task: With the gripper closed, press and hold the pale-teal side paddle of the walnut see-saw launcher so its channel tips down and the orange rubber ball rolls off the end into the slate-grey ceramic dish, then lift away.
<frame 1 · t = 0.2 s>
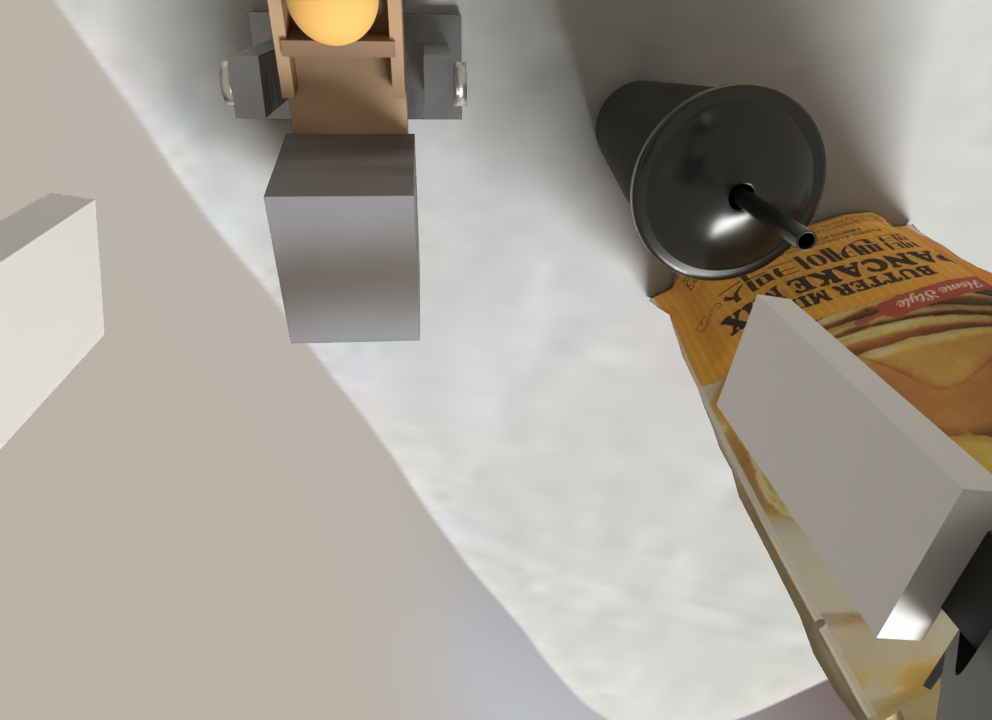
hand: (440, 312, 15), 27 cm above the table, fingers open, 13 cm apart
lever: (410, 30, 27), point 11 cm above the table, hinge at 12.0°, touching ball
stand: (360, 66, 37), on the table
pancake mix bag: (778, 275, 45), on the table
drinking cup: (637, 126, 40), on the table
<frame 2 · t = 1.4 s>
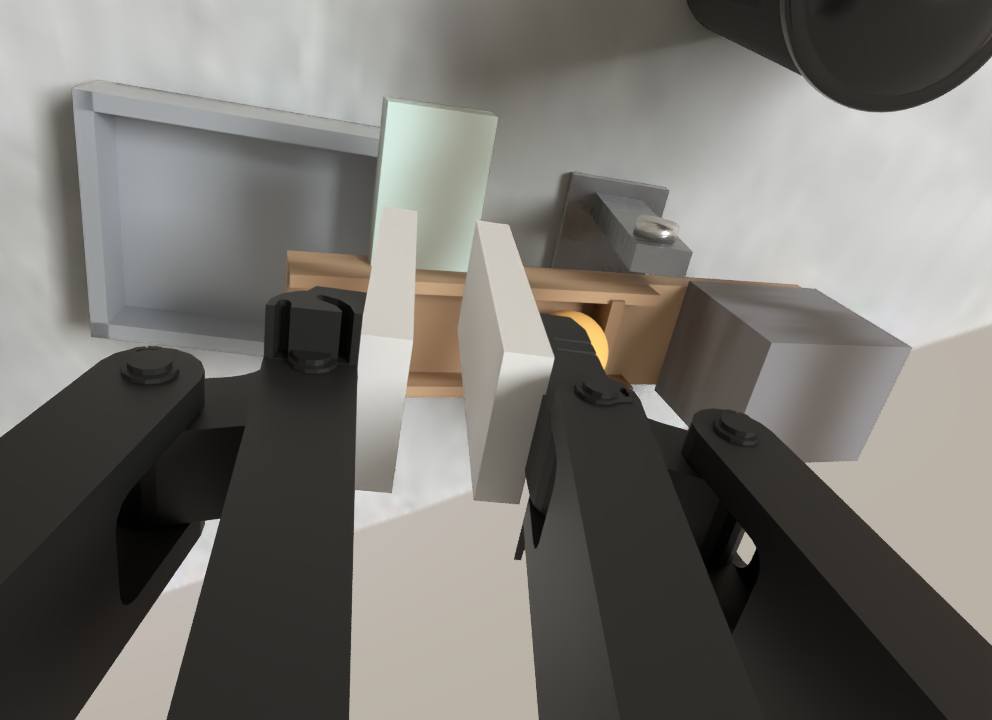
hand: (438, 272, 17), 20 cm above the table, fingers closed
lever: (612, 295, 28), point 11 cm above the table, hinge at 12.0°, touching ball
stand: (595, 274, 39), on the table
ball: (566, 351, 30), point 10 cm above the table, tilted 17°, touching lever
dish: (250, 225, 36), on the table
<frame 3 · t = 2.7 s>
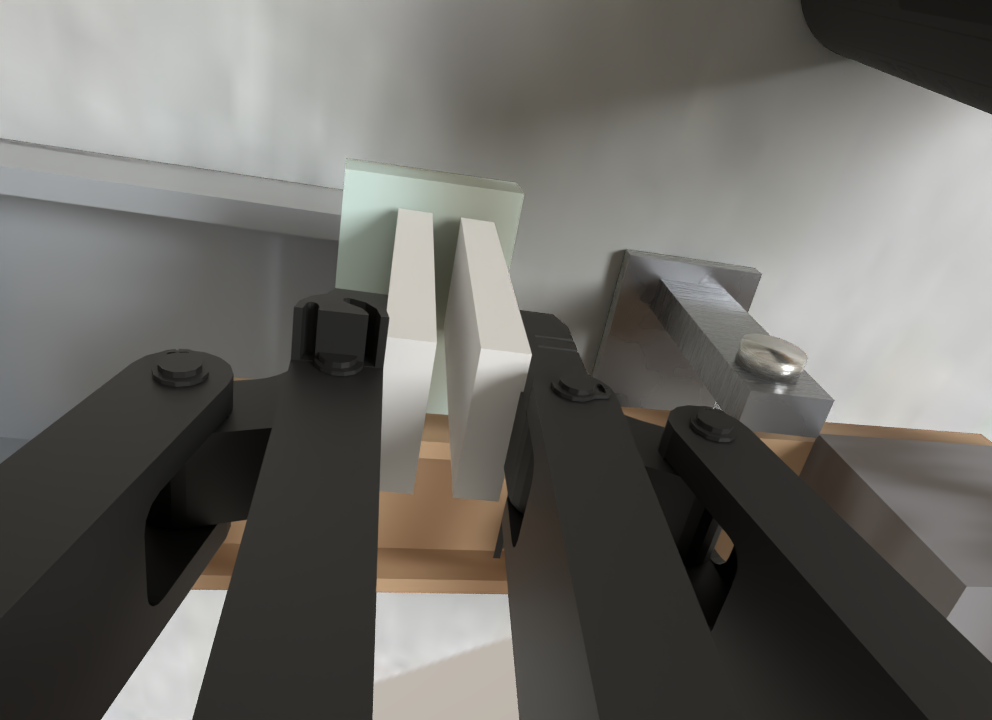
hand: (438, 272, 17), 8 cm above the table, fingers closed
lever: (694, 473, 18), point 10 cm above the table, hinge at 3.4°, touching ball, gripper
stand: (652, 382, 29), on the table
dish: (171, 327, 26), on the table
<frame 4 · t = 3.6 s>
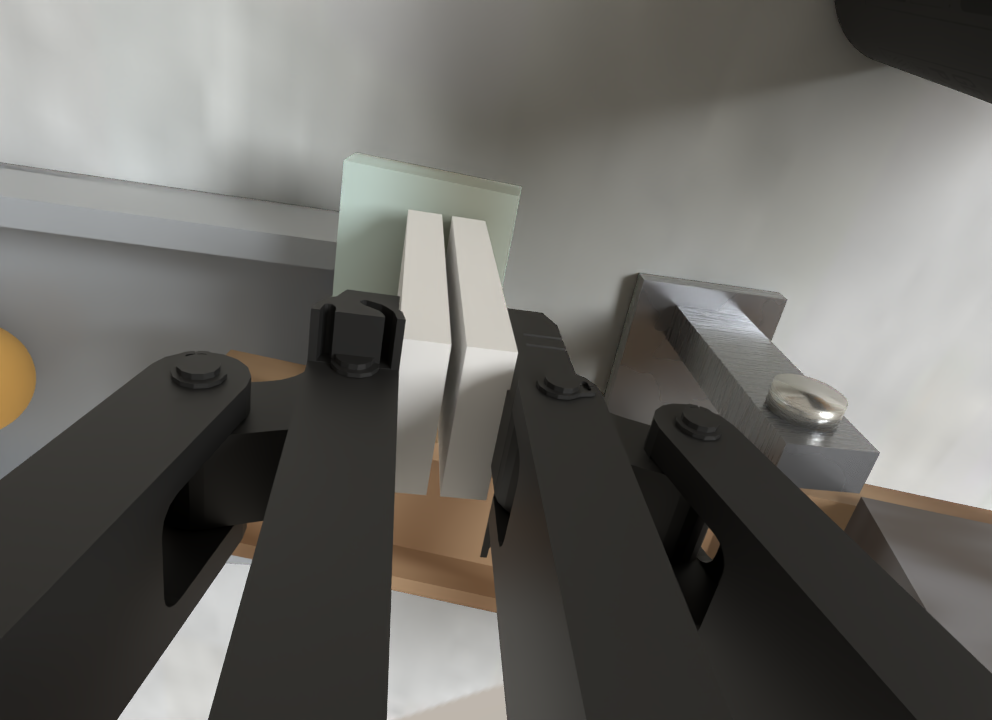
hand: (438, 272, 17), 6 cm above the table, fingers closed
lever: (679, 512, 16), point 9 cm above the table, hinge at -11.9°, touching gripper
stand: (666, 415, 26), on the table
dish: (142, 359, 23), on the table
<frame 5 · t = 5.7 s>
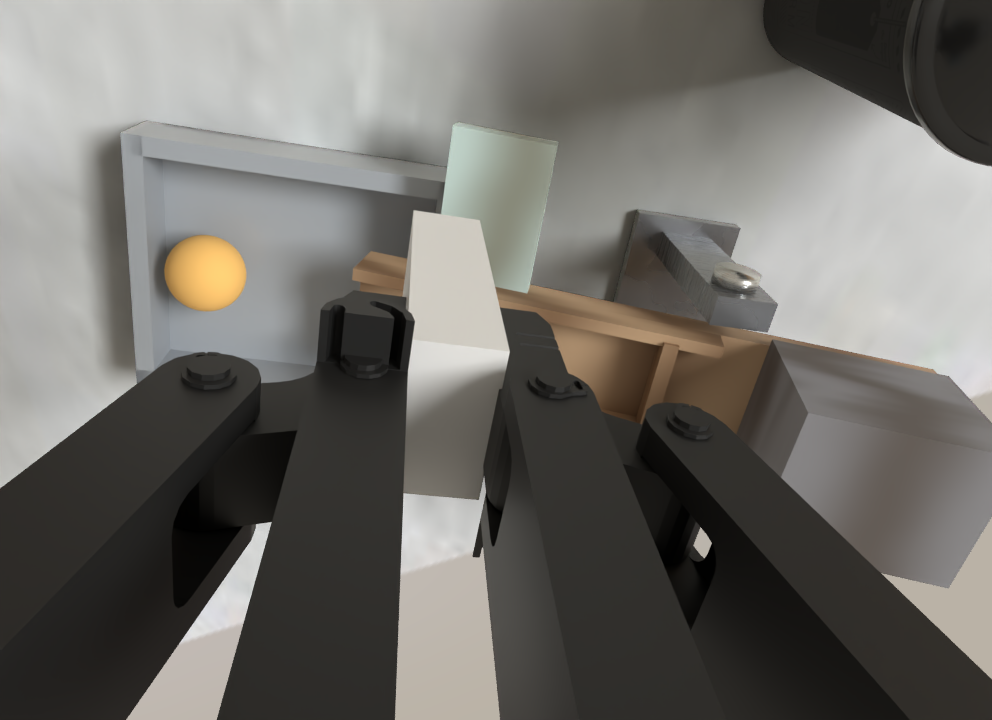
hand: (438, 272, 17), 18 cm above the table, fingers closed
lever: (652, 335, 27), point 9 cm above the table, hinge at -11.9°
stand: (658, 315, 37), on the table
ball: (206, 273, 32), point 2 cm above the table, tilted 83°, touching dish
drinking cup: (817, 4, 31), on the table
dish: (300, 267, 35), on the table
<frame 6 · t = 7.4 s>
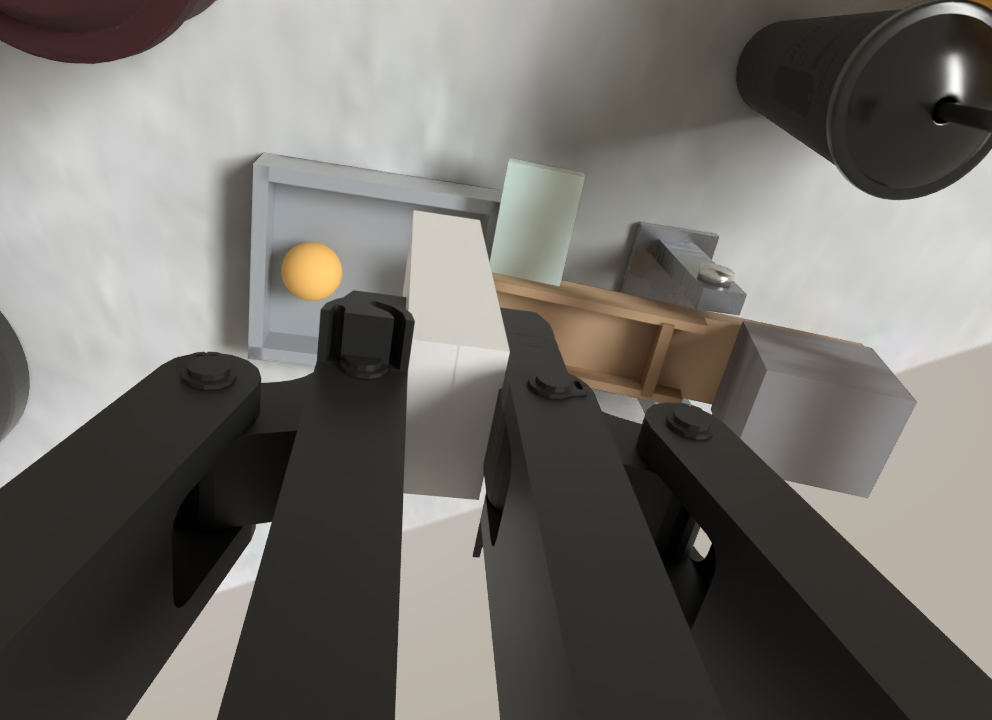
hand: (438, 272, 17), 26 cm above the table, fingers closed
lever: (655, 317, 37), point 9 cm above the table, hinge at -11.9°
stand: (654, 304, 47), on the table
ball: (312, 271, 42), point 2 cm above the table, tilted 92°, touching dish
drinking cup: (776, 68, 41), on the table
dish: (375, 266, 44), on the table
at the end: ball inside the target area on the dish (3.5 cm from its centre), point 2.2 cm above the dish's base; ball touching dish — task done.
